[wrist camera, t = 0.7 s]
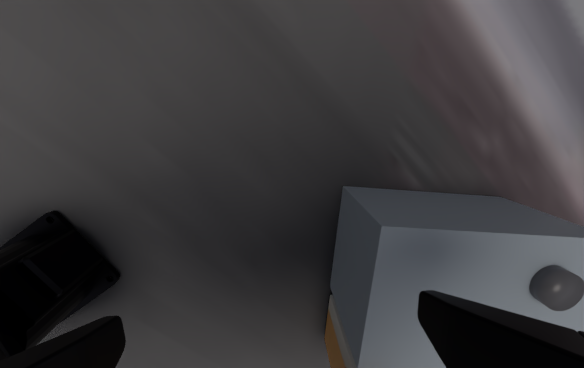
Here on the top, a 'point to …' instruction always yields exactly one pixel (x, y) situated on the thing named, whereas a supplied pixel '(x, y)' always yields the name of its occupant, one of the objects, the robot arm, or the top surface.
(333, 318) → the side door
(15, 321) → the robot arm
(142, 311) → the top surface
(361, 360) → the grey knobbed box
